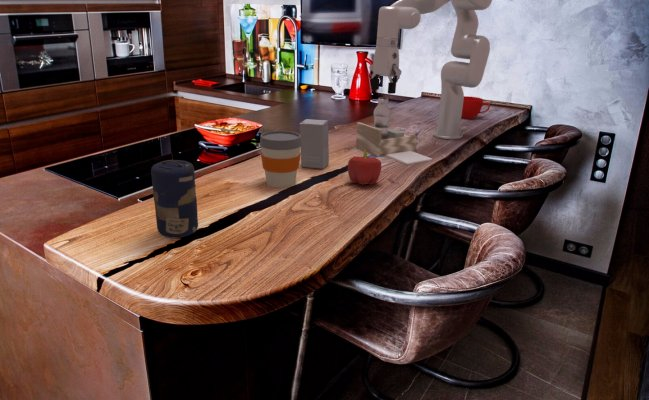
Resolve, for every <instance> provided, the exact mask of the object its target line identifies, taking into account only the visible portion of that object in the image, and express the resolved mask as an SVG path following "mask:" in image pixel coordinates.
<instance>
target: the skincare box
mask: <svg viewBox="0 0 649 400" xmlns="http://www.w3.org/2000/svg"><path fill="white" fill-rule="evenodd" d="M299 134H300V135H301V144H302V145H301V146H300V154H301V155H300V164H301V165H300V167H301V168H307V169H308V168H309V169H317V170H318V169H319V170H320V169H321V170H323V169H325V168H326V167H327V166H328V165H329V163H330V158H329V155H330V154H329V153H330V150H329V120H328V119H327V120H326V119H324V120H323V119H312V118H306V119H304V120H303V121H300V122H299Z"/></svg>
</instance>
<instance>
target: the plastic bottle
mask: <svg viewBox="0 0 649 400" xmlns="http://www.w3.org/2000/svg"><path fill="white" fill-rule="evenodd" d="M391 116H392V112H391V108H390V107H389V98H388V97H378V100H377V106H376V107H375V108H374V109H373V120H374V124H373V127H375V128H378V129H381V130H382V134H381V140H383V139H389V138H388V129H389V128H390V120H391Z"/></svg>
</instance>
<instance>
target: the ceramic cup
mask: <svg viewBox="0 0 649 400" xmlns="http://www.w3.org/2000/svg"><path fill="white" fill-rule="evenodd" d="M484 105H487V108H486V109H485V110H482V107H483V106H484ZM490 108H491V105H490V103H489V102H484V99H483V98H482V97H478V96H469V95H467V96H465V95H464V100H463V108H462V115H461V119H463V118H465V119H464V120H474V119H476V117H477V116H478V115H479V114H482V113H484V114H485V113H486V112H488V111H489V110H490ZM481 110H482V111H481ZM473 118H474V119H473Z"/></svg>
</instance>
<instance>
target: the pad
mask: <svg viewBox="0 0 649 400" xmlns="http://www.w3.org/2000/svg"><path fill="white" fill-rule="evenodd" d="M385 157H387V158H389V159H392V160H394V161H397V162H399V163H402V164H404V165H407V166H408V165H413V164H414V165H415V164H419V163H425V162H430V161H433V158H432V157H428V156H426V155H424V154H420V153H418V152H416V151H406V152H400V153H393V154H387V155H385Z"/></svg>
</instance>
